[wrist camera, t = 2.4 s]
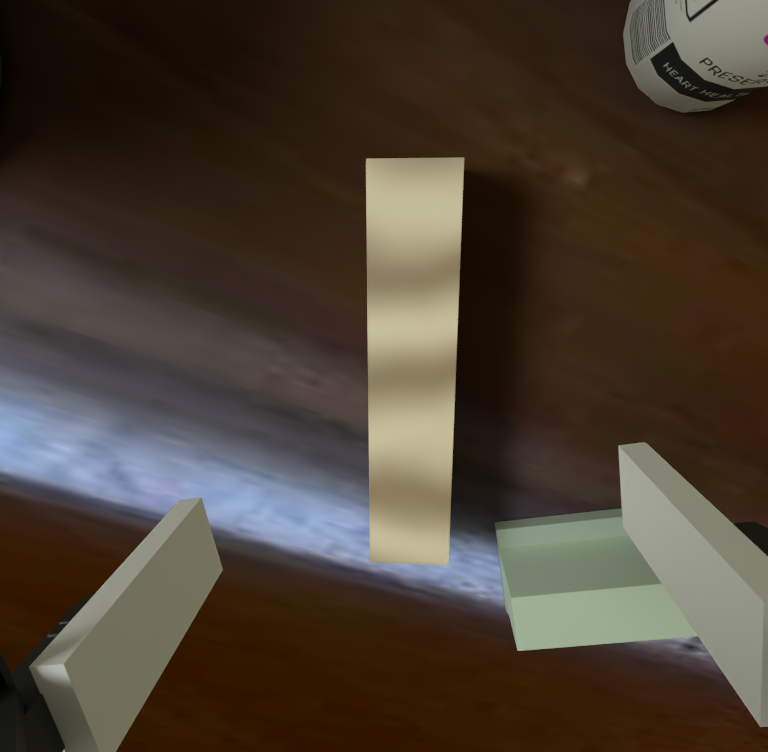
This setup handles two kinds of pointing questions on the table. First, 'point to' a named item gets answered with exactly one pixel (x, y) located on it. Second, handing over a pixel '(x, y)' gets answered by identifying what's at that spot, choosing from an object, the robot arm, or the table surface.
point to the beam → (412, 353)
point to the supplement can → (697, 50)
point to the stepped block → (581, 583)
